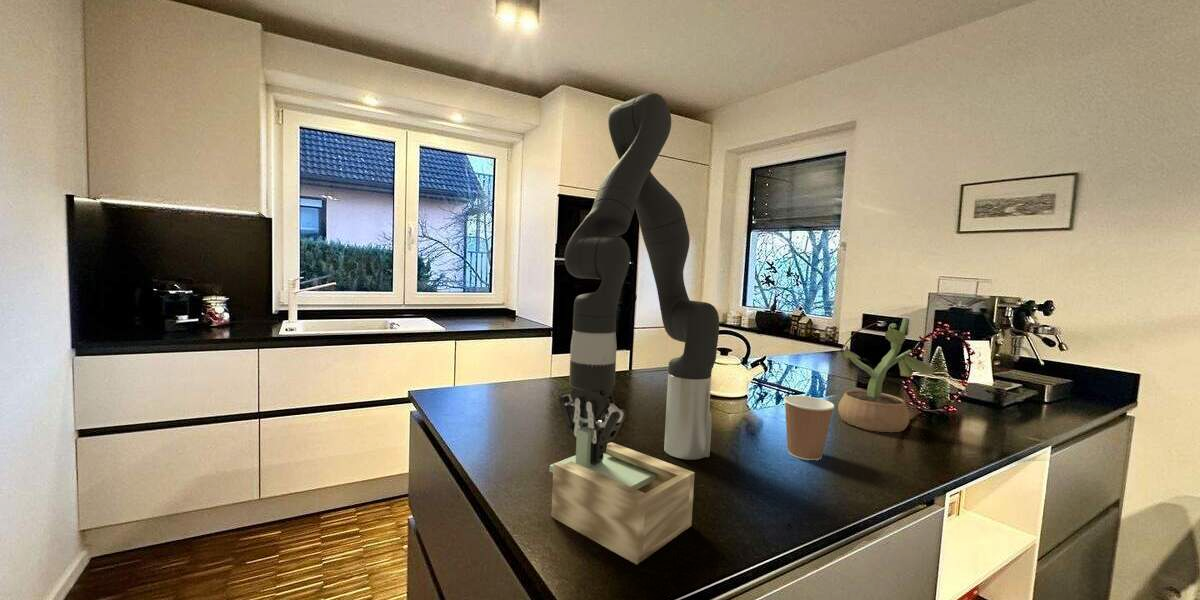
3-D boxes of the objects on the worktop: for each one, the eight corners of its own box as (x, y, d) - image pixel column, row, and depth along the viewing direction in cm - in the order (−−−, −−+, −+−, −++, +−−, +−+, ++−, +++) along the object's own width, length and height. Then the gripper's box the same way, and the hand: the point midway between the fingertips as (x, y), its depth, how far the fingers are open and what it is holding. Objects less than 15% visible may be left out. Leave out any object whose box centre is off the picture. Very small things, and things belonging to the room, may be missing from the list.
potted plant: (820, 416, 136) (828, 311, 134) (870, 413, 141) (879, 312, 139) (889, 446, 114) (900, 321, 112) (945, 441, 120) (956, 322, 118)
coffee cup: (830, 451, 109) (834, 399, 108) (830, 468, 100) (835, 411, 99) (781, 442, 113) (785, 393, 113) (778, 457, 104) (782, 403, 103)
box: (691, 525, 75) (694, 472, 74) (636, 564, 64) (639, 503, 64) (609, 488, 86) (611, 442, 85) (551, 516, 76) (553, 463, 75)
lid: (656, 479, 77) (658, 436, 77) (615, 501, 69) (617, 454, 69) (591, 454, 86) (593, 416, 86) (549, 471, 78) (550, 429, 78)
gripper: (641, 362, 77) (635, 467, 78) (578, 349, 86) (574, 443, 87) (611, 368, 71) (605, 481, 72) (547, 354, 80) (543, 454, 81)
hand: (588, 460), depth 80 cm, fingers closed on lid, 2 cm apart
